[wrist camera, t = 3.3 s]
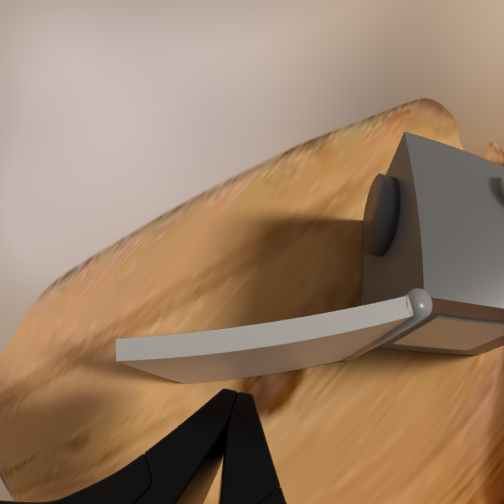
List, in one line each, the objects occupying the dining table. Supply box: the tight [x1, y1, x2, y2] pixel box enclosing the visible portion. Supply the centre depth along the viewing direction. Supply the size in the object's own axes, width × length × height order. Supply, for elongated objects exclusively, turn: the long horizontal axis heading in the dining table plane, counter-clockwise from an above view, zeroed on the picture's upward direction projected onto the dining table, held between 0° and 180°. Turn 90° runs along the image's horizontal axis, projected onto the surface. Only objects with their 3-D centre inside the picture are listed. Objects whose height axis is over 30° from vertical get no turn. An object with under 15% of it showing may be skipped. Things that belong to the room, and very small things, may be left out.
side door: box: [116, 288, 432, 384], centre depth 11 cm, size 9×1×8 cm, turn 98°
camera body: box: [361, 132, 504, 356], centre depth 13 cm, size 8×9×8 cm
